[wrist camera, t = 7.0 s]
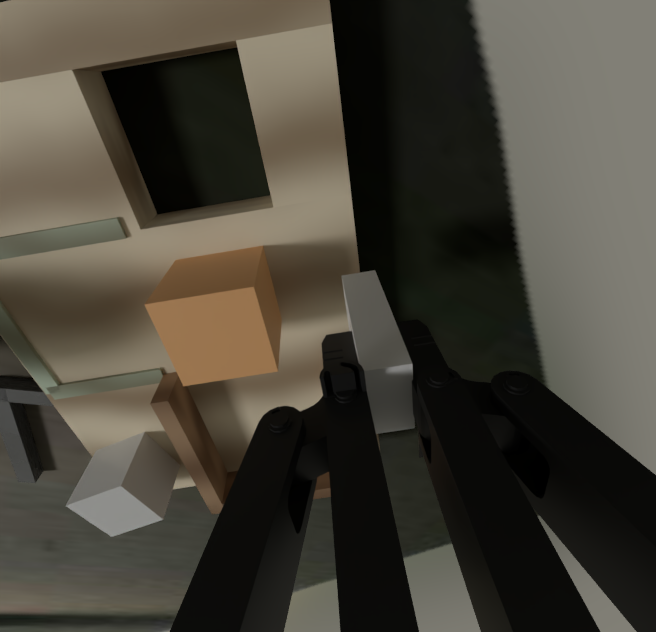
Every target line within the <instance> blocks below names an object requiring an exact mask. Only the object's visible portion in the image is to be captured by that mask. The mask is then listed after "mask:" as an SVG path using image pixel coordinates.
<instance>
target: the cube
mask: <svg viewBox="0 0 656 632" xmlns="http://www.w3.org/2000/svg"><path fill="white" fill-rule="evenodd" d="M144 305H145V307H146V309H147V311H148V313H149V315H150V317H151V320H152V322H153V324H154V326H155V328H156V330H157V332H158V334H159V336H160V338H161V340H162V343H163V345H164V347H165V349H166V351H167V353H168V355H169V357H170V359H171V361H172V364H173V366H174V368H175V370H176V372H177V374H178V376H179V378H180V380H181V382H182V384H183V386H189V385H195V384H202V383H208V382H214V381H221V380H227V379H234V378H240V377H246V376H253V375H259V374H265V373H272V372H278V366H279V352H280V339H281V325H282V318H281V314H280V310H279V306H278V302H277V298H276V295H275V291H274V287H273V283H272V279H271V275H270V271H269V267H268V263H267V259H266V255H265V251H264V247H263V246H257V247H251V248H245V249H239V250H233V251H227V252H220V253H214V254H208V255H202V256H196V257H190V258H184V259H178V260H175V261H174V263H173V264H172V266H171V267H170V269H169V270H168V271H167V273H166V274H165V276H164V277H163V279H162V280H161V281H160V283H159V284H158V286H157V287H156V289H155V290H154V291H153V293H152V294H151V296H150V297H149V299H148V300H147V301H146V303H145V304H144Z"/></svg>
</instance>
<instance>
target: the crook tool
mask: <svg viewBox="0 0 656 632" xmlns="http://www.w3.org/2000/svg"><path fill="white" fill-rule="evenodd" d="M23 403H25V404H36V405H47V406H54V405H53V404H52V403H51V401H50V400H49V399H48V397H47V396H46V395H45V393H44V392H43V391H42V389H41V388H40V387H39V385H38V384H37V383H36V381H35V380H33V379H23V378H13V377H2V376H0V432H1V435H2V438H3V441H4V443H5V446H6V449H7V452H8V454H9V457H10V460H11V463H12V465H13V468H14V471H15V474H16V476H17V479H18V482H30V483H36V481H37V480H38V478H39V477H40V475H41V474H42V472H43V468H42V465H41V461H40V458H39V455H38V451H37V448H36V445H35V442H34V438H33V435H32V432H31V428H30V425H29V422H28V418H27V415H26V412H25V408H24V405H23Z"/></svg>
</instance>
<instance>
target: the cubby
mask: <svg viewBox="0 0 656 632" xmlns="http://www.w3.org/2000/svg"><path fill="white" fill-rule="evenodd" d="M150 405H151V406H152V408H153V410H154V412H155V414H156V415H157V417H158V419H159V421H160V422H161V424H162V426H163V428H164V430H165V431H166V433H167V435H168V437H169V438H170V440H171V442H172V444H173V446H174V447H175V449H176V451H177V453H178V454H179V456H180V458H181V460H182V462H183V463H184V465H185V467H186V469H187V470H188V472H189V474H190V476H191V478H192V479H193V481H194V483H195V485H196V487H197V488H198V490H199V492H200V494H201V495H202V497H203V499H204V501H205V503H206V504H207V506H208V508H209V510H210V511H211V513H212V514H218V513H220V512H221V510H222V507H223V505H224V503H225V500H226V498H227V496H228V493H229V491H230V489H231V486H232V484H233V482H234V479H235V477H236V474H237V472H238V471H233V472H227V470H226V468H225V466H224V464H223V461H222V459H221V457H220V455H219V453H218V451H217V449H216V447H215V444H214V442H213V440H212V438H211V436H210V434H209V432H208V430H207V427H206V425H205V423H204V421H203V419H202V417H201V415H200V413H199V410H198V408H197V406H196V404H195V402H194V400H193V398H192V396H191V393H190V391H189V389H188V387H187V386H183V384H182V382H181V380H180V378H179V376H178V374H177V372H172V373H166V374H164V375H163V377H162V379H161V381H160V383H159V385H158V388H157V390H156V392H155V394H154V396H153V398H152V401H151V403H150ZM325 497H331V492H330V478H329V472H327V473H325V474H323V475H321V476H319V477H317V483H316V488H315V492H314V497H313V499H318V498H325Z"/></svg>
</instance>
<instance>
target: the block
mask: <svg viewBox="0 0 656 632" xmlns="http://www.w3.org/2000/svg"><path fill="white" fill-rule="evenodd" d="M179 468H180V465H179V464H178V463H177V462H176V461H175V460H174V459H173V458H172V457H171V456H170V455H169V454H168V453H167V452H166V451H165V450H164V449H163V448H161V447H160V446H159V445H158V444H157V443H156V442H155V441H154V440H153V439H152V438H151V437H150V436H149V435H148V434H147V433H146V432H143V433H140V434H138V435H135V436H132V437H130V438H127V439H125V440H122V441H119V442H117V443H114V444H111V445H109V446H106V447H104V448H101V449H98V450H96V452H95V453H94V455H93V457H92V459H91V461H90V462H89V464H88V466H87V468H86V470H85V472H84V473H83V475H82V477H81V479H80V481H79V482H78V484H77V486H76V488H75V490H74V491H73V493H72V495H71V497H70V499H69V500H68V502H67V504H66V506H67V507H68V508H70V509H71V510H73V511H74V512H76V513H77V514H79V515H80V516H81V517H83V518H84V519H86V520H87V521H89V522H90V523H92V524H93V525H95V526H96V527H98V528H99V529H101V530H102V531H104V532H105V533H107V534H108V535H110V536H111V537H113V536H116V535H119V534H122V533H125V532H128V531H131V530H134V529H137V528H140V527H143V526H146V525H149V524H152V523H155V522H158V521H160V520H163V519H164V516H165V512H166V509H167V506H168V503H169V500H170V496H171V493H172V490H173V487H174V484H175V480H176V477H177V474H178V471H179Z"/></svg>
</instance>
